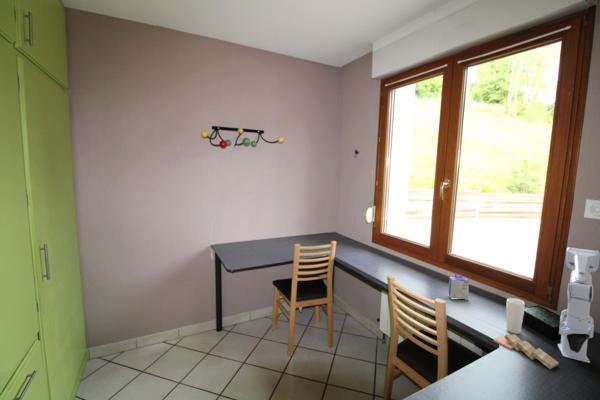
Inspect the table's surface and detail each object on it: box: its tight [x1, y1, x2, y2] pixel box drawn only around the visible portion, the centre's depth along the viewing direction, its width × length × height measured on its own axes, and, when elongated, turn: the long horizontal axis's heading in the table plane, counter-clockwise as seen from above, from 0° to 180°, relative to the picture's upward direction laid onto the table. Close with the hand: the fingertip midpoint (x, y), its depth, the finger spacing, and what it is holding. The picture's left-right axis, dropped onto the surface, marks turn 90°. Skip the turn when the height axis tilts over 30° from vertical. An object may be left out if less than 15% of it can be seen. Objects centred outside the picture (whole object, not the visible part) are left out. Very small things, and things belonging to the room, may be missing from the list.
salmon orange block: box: [493, 336, 515, 351], centre depth 125 cm, size 2×5×7 cm
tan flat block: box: [516, 339, 537, 361], centre depth 118 cm, size 2×5×7 cm
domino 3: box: [531, 347, 559, 370], centre depth 112 cm, size 2×5×7 cm
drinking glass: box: [505, 297, 525, 335], centre depth 134 cm, size 7×7×15 cm
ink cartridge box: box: [448, 273, 470, 301], centre depth 169 cm, size 10×6×14 cm, turn 78°
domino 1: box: [503, 333, 523, 352], centre depth 123 cm, size 2×5×7 cm
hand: (574, 350), depth 105 cm, fingers closed
